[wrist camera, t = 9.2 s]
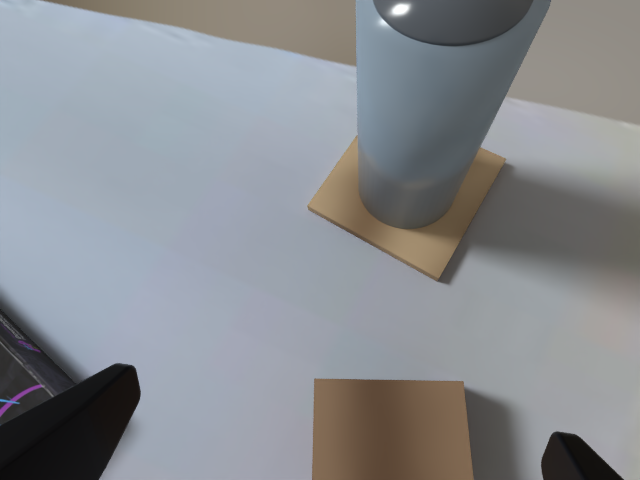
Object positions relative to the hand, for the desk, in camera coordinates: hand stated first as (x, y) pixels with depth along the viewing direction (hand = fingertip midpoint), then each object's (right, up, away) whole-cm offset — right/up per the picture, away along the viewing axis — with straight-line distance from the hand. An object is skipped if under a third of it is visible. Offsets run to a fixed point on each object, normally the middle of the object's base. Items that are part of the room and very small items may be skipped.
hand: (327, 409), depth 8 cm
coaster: (+5, +7, +17) cm, 19 cm away
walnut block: (+3, -6, +12) cm, 14 cm away
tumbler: (+5, +7, +16) cm, 18 cm away
